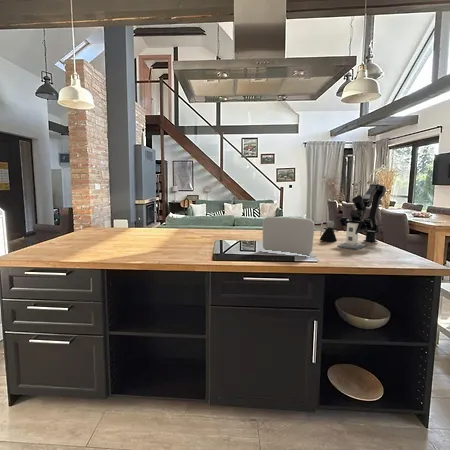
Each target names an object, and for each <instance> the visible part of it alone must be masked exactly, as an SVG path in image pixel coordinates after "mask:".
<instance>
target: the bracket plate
mask: <svg viewBox="0 0 450 450" xmlns="http://www.w3.org/2000/svg"><path fill="white" fill-rule="evenodd" d="M367 246H368V244H365V243H361V242H360V243H359V242H357V245H350V244H346V241H345V242H341V243H340V244H338V245H337V248H342V249H349V250H356V251H357V250H361V249H363V248H365V247H367Z"/></svg>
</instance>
